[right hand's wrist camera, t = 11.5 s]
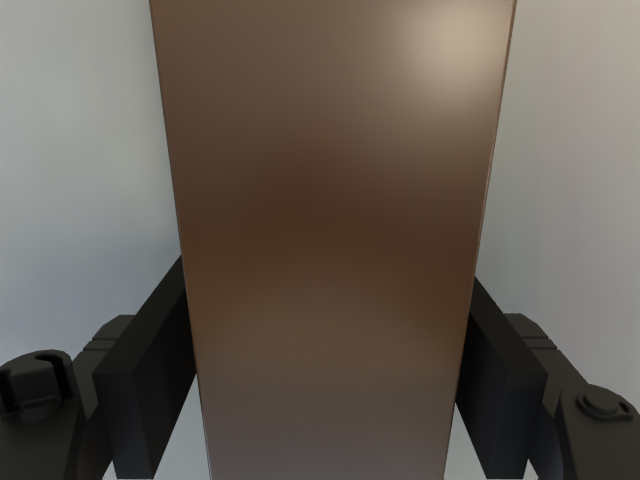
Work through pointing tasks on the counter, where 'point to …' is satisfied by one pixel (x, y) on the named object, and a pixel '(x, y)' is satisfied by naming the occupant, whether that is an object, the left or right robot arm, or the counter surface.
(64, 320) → the counter surface
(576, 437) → the right robot arm
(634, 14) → the counter surface
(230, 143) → the bar
